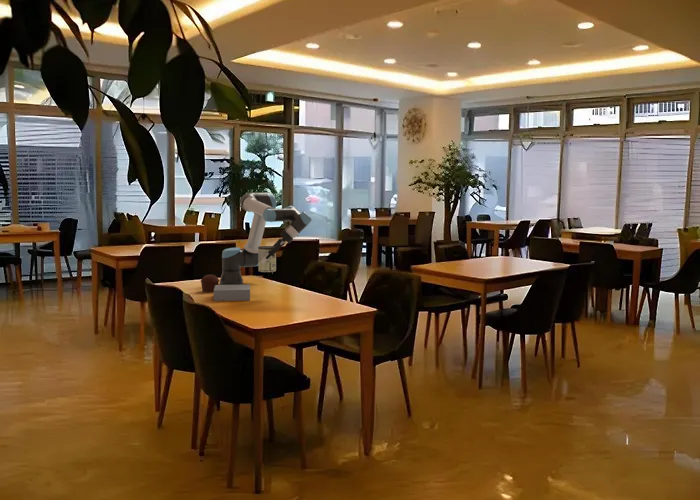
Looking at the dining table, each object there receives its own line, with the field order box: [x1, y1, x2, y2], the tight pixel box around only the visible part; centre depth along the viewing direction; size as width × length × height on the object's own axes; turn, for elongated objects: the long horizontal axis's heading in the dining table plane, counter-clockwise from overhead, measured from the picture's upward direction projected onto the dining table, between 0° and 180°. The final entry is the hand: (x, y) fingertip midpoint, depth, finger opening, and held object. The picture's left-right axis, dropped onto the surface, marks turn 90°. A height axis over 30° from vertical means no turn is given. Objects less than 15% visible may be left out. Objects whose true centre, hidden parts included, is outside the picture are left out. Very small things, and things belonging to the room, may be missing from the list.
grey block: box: [213, 284, 251, 302], centre depth 381 cm, size 20×20×6 cm
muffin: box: [200, 274, 220, 293], centre depth 404 cm, size 12×11×10 cm
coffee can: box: [257, 245, 277, 273], centre depth 383 cm, size 10×10×14 cm
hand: (261, 261), depth 382 cm, fingers closed on coffee can, 10 cm apart
